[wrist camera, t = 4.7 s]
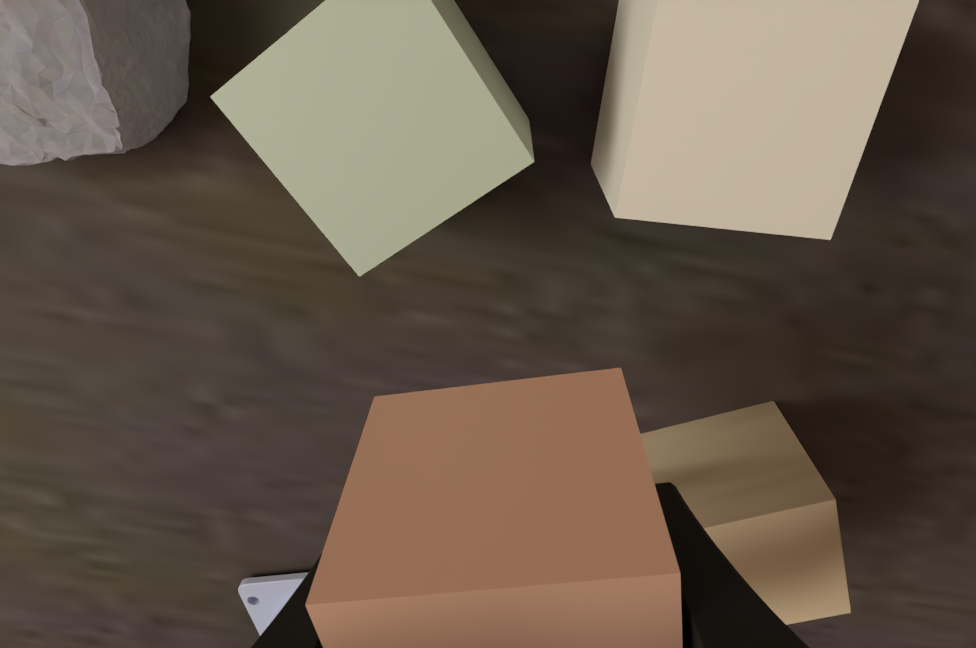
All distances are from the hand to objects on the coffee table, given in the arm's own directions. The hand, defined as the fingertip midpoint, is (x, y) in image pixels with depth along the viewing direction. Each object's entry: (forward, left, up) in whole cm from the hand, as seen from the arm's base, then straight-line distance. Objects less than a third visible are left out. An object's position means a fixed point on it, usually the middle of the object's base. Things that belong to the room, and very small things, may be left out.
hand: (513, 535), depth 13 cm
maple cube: (-8, -7, -10) cm, 14 cm away
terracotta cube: (0, 0, -2) cm, 2 cm away
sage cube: (+7, +2, -10) cm, 12 cm away
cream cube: (+6, -6, -10) cm, 13 cm away
